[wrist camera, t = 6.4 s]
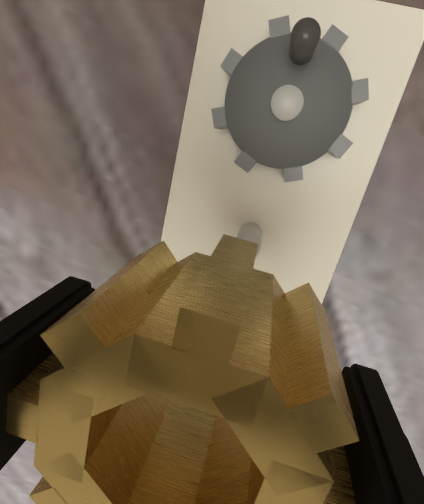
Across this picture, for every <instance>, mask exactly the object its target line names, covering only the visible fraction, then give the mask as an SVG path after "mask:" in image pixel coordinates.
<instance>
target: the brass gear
mask: <svg viewBox="0 0 424 504" xmlns="http://www.w3.org/2000/svg"><path fill="white" fill-rule="evenodd" d="M257 248H258V244H257V243H254V242H250V241H247V240H243V239H240V238H236V237H233V236H229V235H225V234H223V236H222V238H221V240H220V241H219V243H218V245H217V246H216V248H215V250H214V251H213V253H212V255H211V256H208V255H205V254H201V253H198V252H195V253H193V254H191V255H189V256H187V257H186V258H184V259H182V260H180V261H178V262H177V260H176V259H175V257H174V256H173V254H172V252H171V251H170V249H169V248H168V246H167V245H166V243H165V242H164V241H162V242H160V243H159V244H157V245H155V246H154V247H152V248H150V249H148V250H147V251H145V252H143V253H141V254H140V255H138V256H137V257H135V258H134V259H133V260H132V261H131V262H129V263H128V264H127V265H126V266H124V267H123V268H122V269H121V270H119V271H118V272H117V273H116V274H115V275H113V276H112V277H111V278H110V279H108V280H107V281H106V282H105V283H103V284H102V285H101V286H100V287H99V288H97V289H96V290H95V291H94V292H92V293H91V294H90V295H89V296H87V297H86V298H85V299H84V300H83V301H81V302H80V303H79V304H78V305H76V306H75V307H74V308H73V309H71V310H70V311H69V312H68V313H67V314H65V315H64V316H63V317H62V318H60V319H59V320H58V321H57V322H55V323H54V324H53V325H52V326H51V327H49V328H48V329H47V330H46V331H44V332H43V333H42V334H41V335H40V336H41V337H42V339H43V340H44V341H45V343H46V344H47V345H48V347H49V348H50V349H51V350H52V352H53V353H52V354H51V355H50V356H49V357H48V358H47V359H46V360H45V361H43V362H42V363H41V364H40V365H39V366H38V367H37V368H36V369H35V370H34V371H33V372H32V373H31V374H30V375H29V376H27V377H26V378H25V379H24V380H23V381H22V382H21V383H20V384H19V385H18V386H17V387H16V388H15V389H14V390H13V391H11V392H10V393H9V394H8V395H7V427H6V432H7V433H9V434H12V435H15V436H18V437H20V438H23V439H26V440H29V441H31V442H34V443H36V445H35V460H34V466H35V467H36V468H37V470H38V471H39V472H40V473H41V474H42V476H43V477H42V479H41V480H40V481H39V483H38V484H37V486H36V487H35V488H34V490H33V491H32V493H31V494H30V497H31V498H32V500H33V501H34V502H35V503H36V504H356V502H355V497H354V493H353V488H352V483H351V478H350V473H349V468H348V464H347V459H346V454H345V449H344V445H347V444H351V443H354V442H358V441H359V437H358V433H357V430H356V426H355V422H354V418H353V414H352V411H351V407H350V403H349V399H348V396H347V392H346V388H345V384H344V380H343V377H342V373H341V369H340V365H339V361H338V358H337V354H336V350H335V346H334V343H333V339H332V335H331V331H330V327H329V324H328V320H327V316H326V312H325V310H324V308H323V306H322V305H321V303H320V301H319V299H318V298H317V296H316V294H315V292H314V291H313V289H312V287H311V285H310V284H309V283H307V284H304V285H302V286H300V287H298V288H296V289H294V290H291V291H289V292H287V293H284V291H283V290H282V288H281V286H280V285H279V283H278V281H277V279H276V278H275V276H274V274H270V273H267V272H263V271H260V270H257V269H253V267H254V262H255V257H256V252H257Z"/></svg>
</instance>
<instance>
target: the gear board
mask: <svg viewBox="0 0 424 504" xmlns="http://www.w3.org/2000/svg"><path fill="white" fill-rule="evenodd" d="M423 41H424V10H422V9H417V8H412V7H407V6H402V5H397V4H392V3H387V2H382V1H376V0H205V5H204V10H203V16H202V21H201V27H200V32H199V37H198V43H197V48H196V54H195V59H194V65H193V70H192V75H191V81H190V86H189V92H188V97H187V102H186V108H185V113H184V119H183V124H182V129H181V135H180V140H179V146H178V151H177V156H176V162H175V167H174V173H173V178H172V183H171V189H170V194H169V200H168V205H167V211H166V216H165V221H164V227H163V232H162V238H161V242H162V241H164V242H165V243H166V245H167V246H168V248H169V249H170V251H171V252H172V254H173V256H174V257H175V259H176V260H177V262H178V261H180V260H182V259H184V258H186V257H187V256H189V255H191V254H193V253H195V252H198V253H201V254H205V255H208V256H211V255H212V253H213V251H214V250H215V248H216V246H217V245H218V243H219V241H220V240H221V238H222V236H223V234H225V235H229V236H233V237H236V238H240V239H243V240H247V241H250V242H254V243H257V244H258V248H257V252H256V257H255V262H254V267H253V269H257V270H260V271H263V272H267V273H270V274H274V276H275V278H276V279H277V281H278V283H279V285H280V286H281V288H282V290H283V291H284V293H287V292H289V291H291V290H294V289H296V288H298V287H300V286H302V285H304V284H307V283H309V284H310V285H311V287H312V289H313V291H314V292H315V294H316V296H317V298H318V299H319V301H320V303H321V304H322V302H323V299H324V297H325V294H326V292H327V289H328V286H329V284H330V281H331V279H332V276H333V273H334V271H335V268H336V266H337V263H338V260H339V258H340V255H341V253H342V250H343V248H344V245H345V242H346V240H347V237H348V235H349V232H350V229H351V227H352V224H353V222H354V219H355V217H356V214H357V211H358V209H359V206H360V204H361V201H362V198H363V196H364V193H365V191H366V188H367V185H368V183H369V180H370V178H371V175H372V173H373V170H374V167H375V165H376V162H377V160H378V157H379V154H380V152H381V149H382V147H383V144H384V141H385V139H386V136H387V134H388V131H389V129H390V126H391V123H392V121H393V118H394V116H395V113H396V110H397V108H398V105H399V103H400V100H401V98H402V95H403V92H404V90H405V87H406V85H407V82H408V79H409V77H410V74H411V72H412V69H413V66H414V64H415V61H416V59H417V56H418V54H419V51H420V48H421V46H422V43H423Z"/></svg>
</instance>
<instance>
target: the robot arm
mask: <svg viewBox="0 0 424 504" xmlns="http://www.w3.org/2000/svg"><path fill="white" fill-rule="evenodd" d="M94 291H95V289H94V288H91V283H90V282H88V281H85V280H82V279H79V278H75V277H71V276H70V277H68V278H66V279H65V280H63V281H62V282H60V283H59V284H57V285H56V286H54V287H53V288H51V289H49V290H48V291H46V292H45V293H43V294H42V295H40V296H39V297H37V298H36V299H34V300H32V301H31V302H29V303H28V304H26V305H25V306H23V307H22V308H20V309H19V310H17V311H15V312H14V313H12V314H11V315H9V316H8V317H6V318H5V319H3V320H2V321H0V470H1V469H2V468H3V467H4V465H5V464H6V463H7V462H8V461H9V460H10V458H11V457H12V456H13V455H14V454H15V453H16V451H17V450H18V449H19V448H20V447H21V445H22V444H23V443H24V442H25V441H26V439H23V438H20V437H18V436H15V435H12V434H9V433H7V432H6V427H7V395H8V394H9V393H10V392H11V391H13V390H14V389H15V388H16V387H17V386H18V385H19V384H20V383H21V382H22V381H23V380H24V379H25V378H26V377H27V376H29V375H30V374H31V373H32V372H33V371H34V370H35V369H36V368H37V367H38V366H39V365H40V364H41V363H42V362H43V361H45V360H46V359H47V358H48V357H49V356H50V355H51V354H52V353H53V352H52V350H51V349H50V348H49V347H48V345H47V344H46V343H45V341H44V340H43V339H42V337H41V336H40V335H41V334H42V333H43V332H44V331H46V330H47V329H48V328H49V327H51V326H52V325H53V324H54V323H55V322H57V321H58V320H59V319H60V318H62V317H63V316H64V315H65V314H67V313H68V312H69V311H70V310H71V309H73V308H74V307H75V306H76V305H78V304H79V303H80V302H81V301H83V300H84V299H85V298H86V297H87V296H89V295H90V294H91V293H92V292H94ZM341 373H342V377H343V380H344V384H345V388H346V392H347V396H348V399H349V403H350V407H351V411H352V414H353V418H354V422H355V426H356V430H357V433H358V437H359V441H358V442H354V443H351V444H347V445H344V449H345V454H346V459H347V464H348V468H349V473H350V478H351V483H352V488H353V493H354V497H355V502H356V504H424V476H423V474H422V472H421V469H420V467H419V465H418V462H417V460H416V458H415V455H414V453H413V450H412V448H411V446H410V443H409V441H408V439H407V437H406V436H405V434H404V433H403V430H402V428H401V425H400V423H399V421H398V418H397V416H396V414H395V411H394V409H393V406H392V404H391V402H390V399H389V397H388V395H387V392H386V390H385V388H384V385H383V383H382V380H381V378H380V376H379V373H378V372H377V371H376V370H374V369H371V368H368V367H364V366H361V365H358V364H353V365H352V366H351V367H350V368H349V367H344V369H343V370H342V372H341Z"/></svg>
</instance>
